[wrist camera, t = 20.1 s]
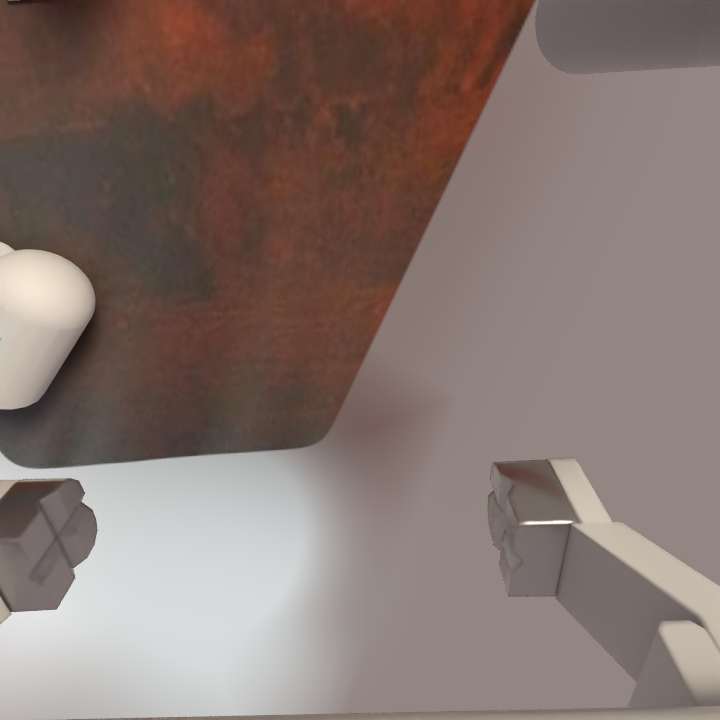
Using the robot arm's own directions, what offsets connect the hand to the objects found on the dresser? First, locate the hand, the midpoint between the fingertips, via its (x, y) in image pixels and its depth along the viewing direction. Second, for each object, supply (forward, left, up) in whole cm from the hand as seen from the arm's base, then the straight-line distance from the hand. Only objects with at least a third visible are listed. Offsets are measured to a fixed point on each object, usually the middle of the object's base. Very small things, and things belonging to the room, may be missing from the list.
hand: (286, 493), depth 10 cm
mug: (+26, +6, -31) cm, 41 cm away
